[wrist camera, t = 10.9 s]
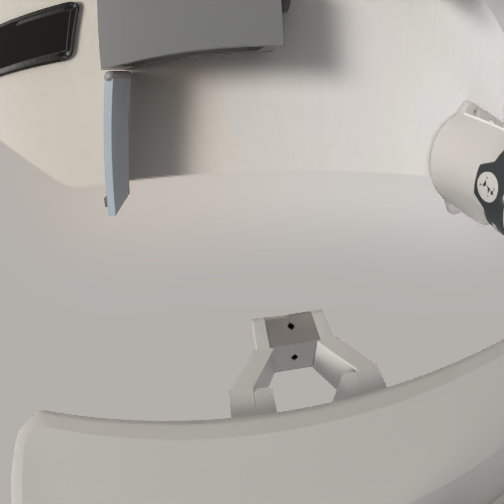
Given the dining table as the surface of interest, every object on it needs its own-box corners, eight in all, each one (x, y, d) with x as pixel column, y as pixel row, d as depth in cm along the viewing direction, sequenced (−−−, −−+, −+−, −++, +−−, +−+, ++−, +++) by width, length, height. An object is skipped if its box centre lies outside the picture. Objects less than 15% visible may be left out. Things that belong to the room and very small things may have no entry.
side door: (130, 193, 33) (116, 215, 28) (115, 193, 33) (100, 215, 28) (132, 70, 25) (114, 70, 20) (116, 71, 25) (95, 72, 20)
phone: (69, 59, 22) (-18, 81, 20) (73, 59, 23) (-13, 80, 21) (78, -1, 18) (-12, 28, 16) (81, 0, 19) (-8, 29, 16)
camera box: (276, -22, 21) (291, -43, 15) (280, 51, 26) (297, 45, 21) (119, -3, 20) (97, -19, 14) (123, 69, 25) (101, 69, 19)
